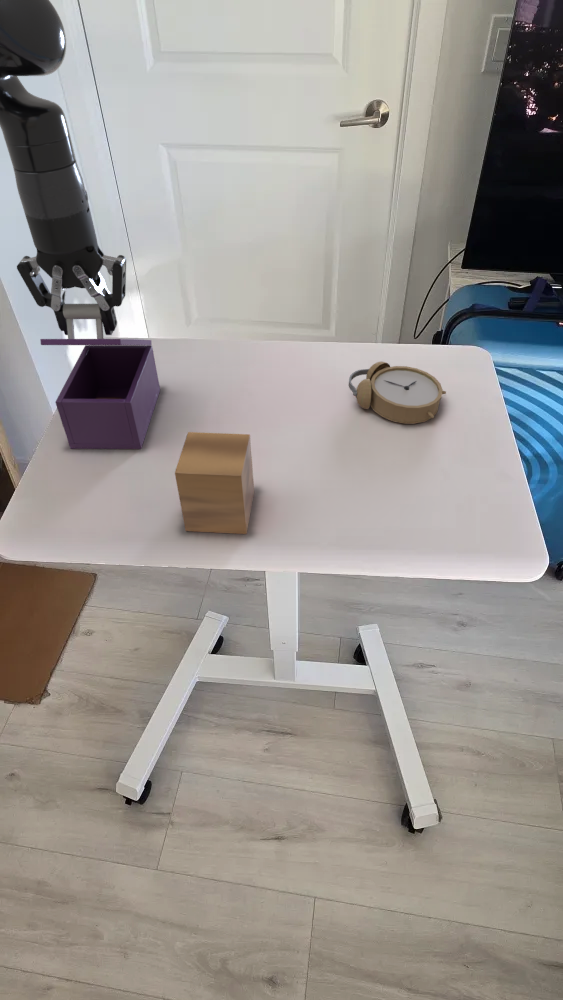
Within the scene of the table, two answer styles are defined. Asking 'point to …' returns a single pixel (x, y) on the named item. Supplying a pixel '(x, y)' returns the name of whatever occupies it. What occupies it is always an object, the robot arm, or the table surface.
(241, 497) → the stand
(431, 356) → the table surface
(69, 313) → the lid
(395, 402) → the alarm clock
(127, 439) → the box
